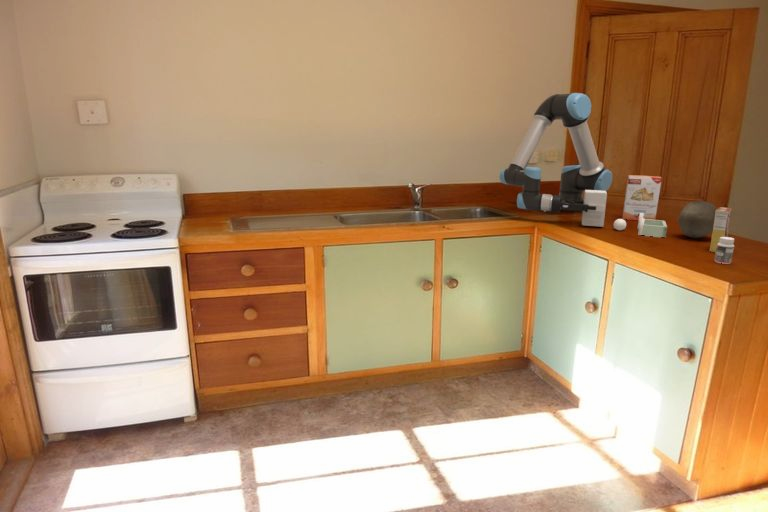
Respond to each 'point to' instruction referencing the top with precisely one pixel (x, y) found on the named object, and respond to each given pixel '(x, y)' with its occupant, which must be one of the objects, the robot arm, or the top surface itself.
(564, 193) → the robot arm
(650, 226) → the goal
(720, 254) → the pill bottle
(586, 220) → the supplement box
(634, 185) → the cracker box
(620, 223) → the ball
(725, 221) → the candy box
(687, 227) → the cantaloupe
